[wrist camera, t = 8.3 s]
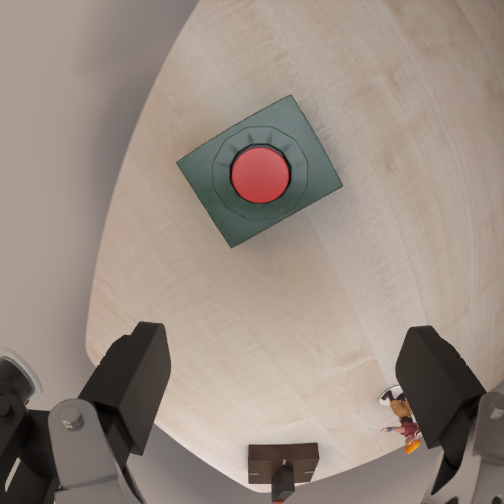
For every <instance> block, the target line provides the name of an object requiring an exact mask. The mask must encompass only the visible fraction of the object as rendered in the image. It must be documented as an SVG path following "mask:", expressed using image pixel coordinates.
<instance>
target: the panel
mask: <svg viewBox="0 0 504 504" xmlns="http://www.w3.org/2000/svg"><path fill="white" fill-rule="evenodd" d="M318 461H319V452H318V445H317V443H309V444H291V445H249V454H248V479H249V484H271V480H272V479H273V477H274V476H275V475H276V474H277V473H278V471H279V470H280V469H281V468H282V467H283V466H290V467H293V472H294V483H302V482H310V481H311V478H312V476H313V473H314V471H315V468H316V466H317V463H318Z"/></svg>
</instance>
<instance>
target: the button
mask: <svg viewBox="0 0 504 504" xmlns="http://www.w3.org/2000/svg"><path fill="white" fill-rule="evenodd" d="M288 180H289V170H288V167H287V164H286V162H285V160H284V159H283V158H282V156H281V155H280V154H278V153H277V152H275V151H274V150H272V149H269V148H264V147H256V148H252V149H249V150H247V151H245V152H244V153H242V154H241V155H240V156H239V157H238V158H237V160H236V161H235V164H234V166H233V170H232V181H233V184H234V187H235V189H236V190H237V192H238V193H239V194H240V195H241V196H242V197H243V198H245V199H246V200H248V201H251V202H254V203H267V202H270V201H273V200H275V199H276V198H278V197H279V196H280V195H281V194H282V193H283V192H284V190H285V189H286V187H287V184H288Z"/></svg>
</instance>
